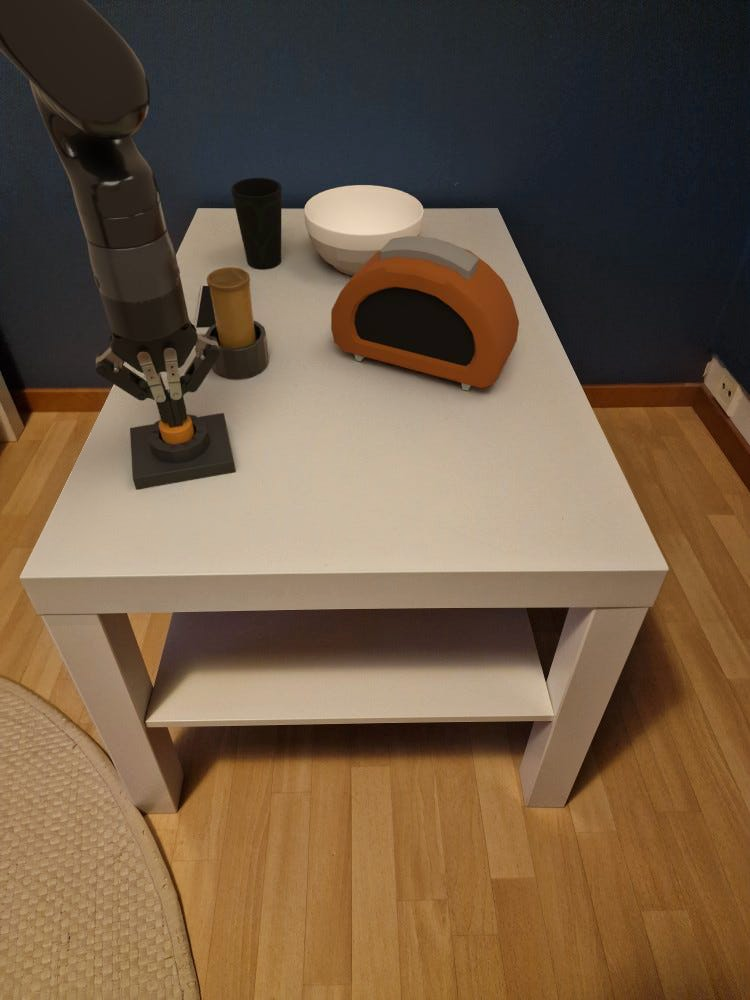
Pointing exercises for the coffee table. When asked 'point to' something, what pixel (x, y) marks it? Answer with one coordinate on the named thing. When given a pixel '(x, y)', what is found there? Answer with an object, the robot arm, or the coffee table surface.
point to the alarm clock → (428, 312)
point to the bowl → (359, 223)
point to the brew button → (177, 432)
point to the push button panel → (181, 453)
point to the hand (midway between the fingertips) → (175, 421)
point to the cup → (259, 220)
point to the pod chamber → (242, 356)
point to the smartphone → (205, 310)
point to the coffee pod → (232, 307)
